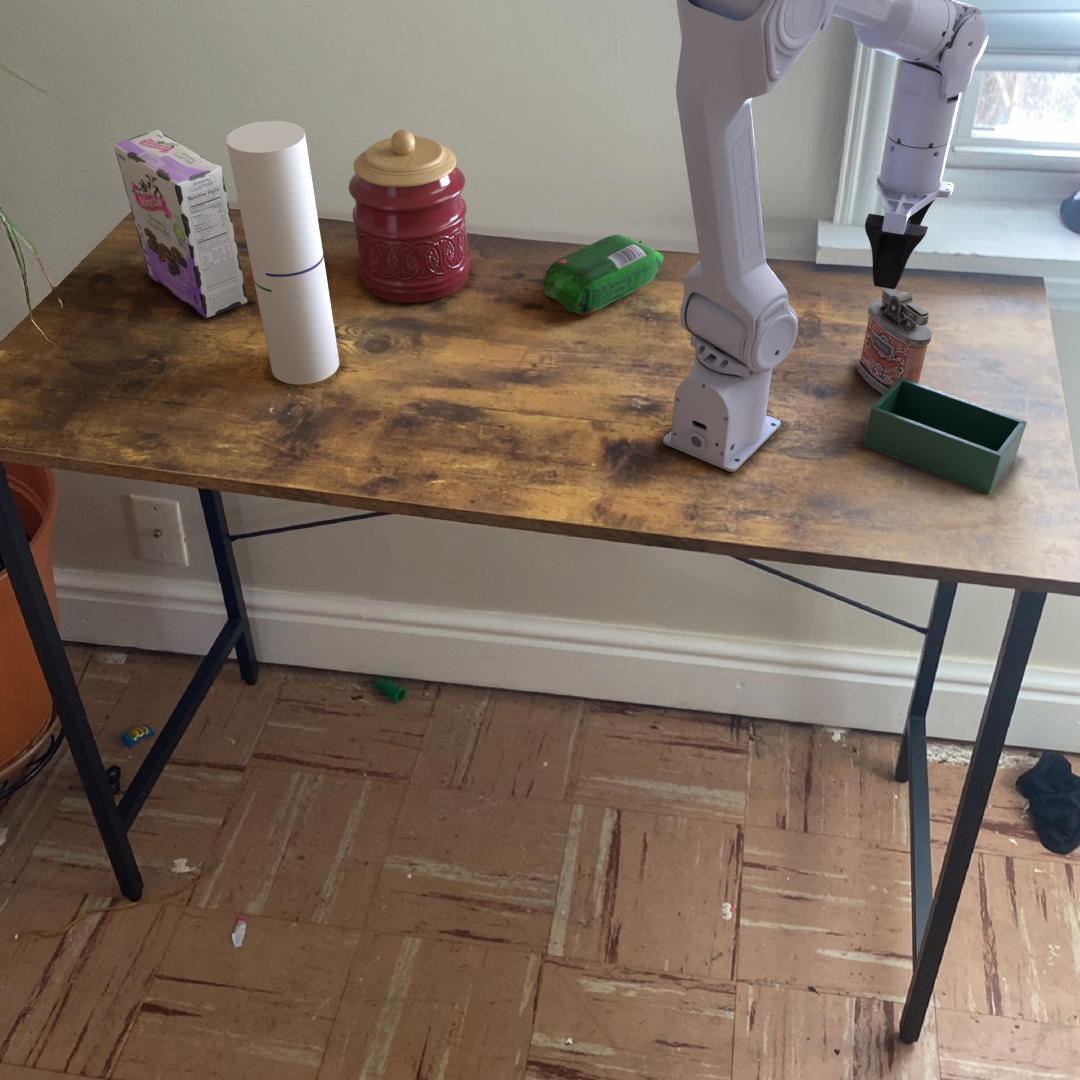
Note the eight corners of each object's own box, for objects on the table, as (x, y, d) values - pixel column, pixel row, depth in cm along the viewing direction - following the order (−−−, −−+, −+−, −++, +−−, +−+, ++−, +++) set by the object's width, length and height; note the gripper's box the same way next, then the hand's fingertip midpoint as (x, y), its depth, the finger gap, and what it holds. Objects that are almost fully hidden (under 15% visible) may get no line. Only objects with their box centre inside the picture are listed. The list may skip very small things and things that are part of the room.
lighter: (849, 367, 123) (865, 282, 116) (875, 359, 124) (893, 274, 118) (897, 407, 118) (917, 320, 111) (924, 398, 119) (946, 312, 112)
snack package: (674, 281, 137) (676, 240, 134) (575, 329, 129) (575, 286, 126) (631, 260, 141) (632, 219, 138) (532, 305, 134) (531, 263, 130)
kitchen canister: (391, 243, 145) (376, 101, 133) (488, 261, 141) (481, 116, 130) (341, 294, 136) (319, 146, 124) (442, 314, 132) (430, 163, 121)
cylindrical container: (326, 387, 122) (288, 155, 105) (261, 380, 123) (213, 149, 106) (348, 350, 127) (315, 123, 110) (285, 344, 128) (244, 118, 111)
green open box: (988, 494, 107) (1000, 456, 104) (862, 445, 113) (870, 408, 110) (1015, 459, 111) (1027, 421, 108) (891, 413, 117) (899, 376, 114)
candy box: (146, 276, 140) (110, 142, 129) (190, 259, 143) (158, 126, 132) (205, 320, 132) (173, 181, 121) (250, 302, 135) (222, 164, 124)
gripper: (952, 174, 103) (920, 310, 112) (973, 113, 113) (943, 242, 122) (870, 162, 105) (846, 297, 114) (898, 103, 115) (874, 231, 124)
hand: (891, 268), depth 118 cm, fingers open, 7 cm apart
